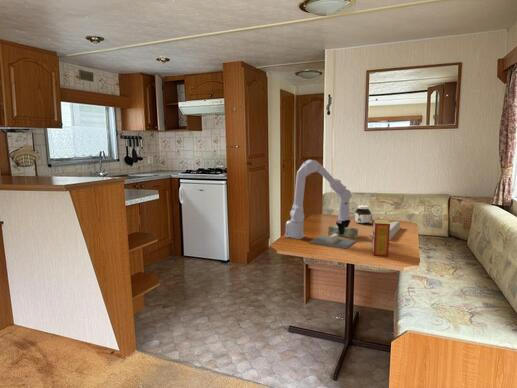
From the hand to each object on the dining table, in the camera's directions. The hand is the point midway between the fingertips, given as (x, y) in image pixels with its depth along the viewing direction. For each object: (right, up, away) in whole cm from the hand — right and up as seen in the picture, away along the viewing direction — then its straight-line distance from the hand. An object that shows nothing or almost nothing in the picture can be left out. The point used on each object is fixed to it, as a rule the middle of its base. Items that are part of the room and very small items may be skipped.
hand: (342, 233), depth 209 cm
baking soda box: (+10, -6, -32) cm, 34 cm away
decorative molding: (+27, -1, +8) cm, 28 cm away
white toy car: (+22, +3, +32) cm, 39 cm away
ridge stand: (-8, -3, -13) cm, 16 cm away
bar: (0, -2, 0) cm, 2 cm away
